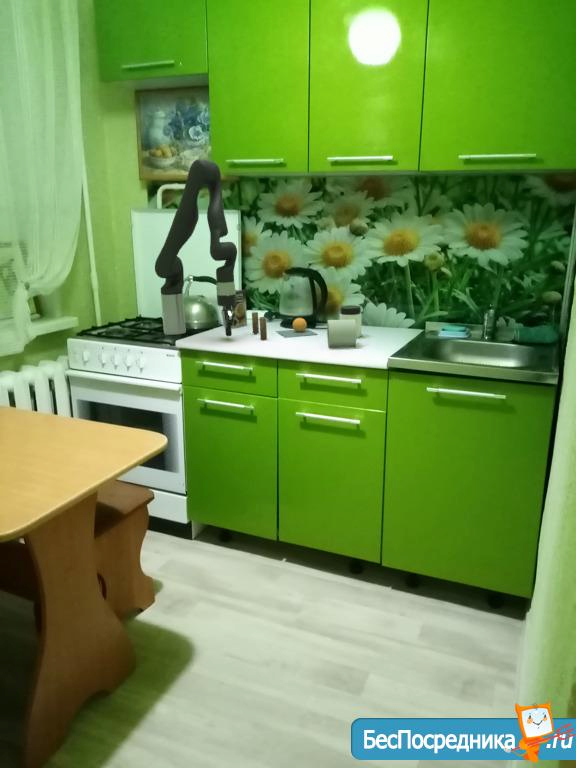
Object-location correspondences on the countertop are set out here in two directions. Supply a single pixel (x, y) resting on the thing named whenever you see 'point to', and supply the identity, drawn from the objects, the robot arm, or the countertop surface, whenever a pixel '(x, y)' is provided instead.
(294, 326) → the ball
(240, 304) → the coffee box
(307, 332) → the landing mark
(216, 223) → the robot arm
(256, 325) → the post
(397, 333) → the countertop surface
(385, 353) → the countertop surface
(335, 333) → the toilet paper
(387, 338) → the countertop surface
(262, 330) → the post
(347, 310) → the jar
